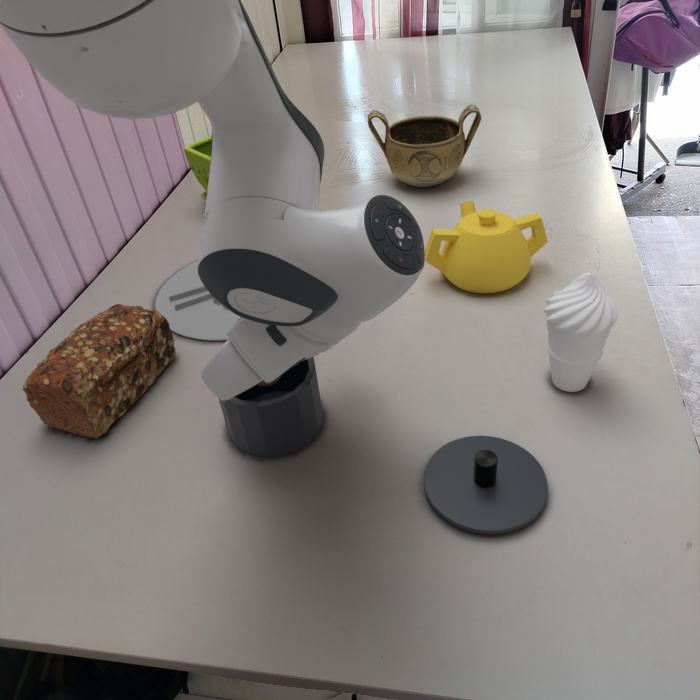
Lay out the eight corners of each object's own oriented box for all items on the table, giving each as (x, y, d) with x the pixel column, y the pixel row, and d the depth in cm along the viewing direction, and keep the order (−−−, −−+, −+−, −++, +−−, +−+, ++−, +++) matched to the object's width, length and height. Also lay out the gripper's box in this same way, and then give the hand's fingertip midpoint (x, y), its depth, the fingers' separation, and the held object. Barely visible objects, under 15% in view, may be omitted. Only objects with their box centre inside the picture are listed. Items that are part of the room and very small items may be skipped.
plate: (292, 234, 120) (291, 228, 120) (348, 307, 100) (347, 301, 99) (144, 274, 113) (142, 268, 113) (171, 362, 93) (169, 356, 92)
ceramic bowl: (371, 201, 129) (365, 127, 120) (373, 167, 142) (368, 99, 133) (482, 194, 127) (485, 118, 117) (473, 161, 140) (476, 91, 131)
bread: (102, 445, 80) (74, 386, 74) (38, 427, 84) (6, 370, 78) (183, 355, 94) (165, 299, 87) (125, 343, 97) (103, 289, 91)
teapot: (517, 233, 113) (522, 174, 107) (561, 286, 99) (570, 222, 92) (408, 251, 112) (406, 192, 105) (437, 308, 97) (436, 244, 91)
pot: (328, 447, 77) (320, 395, 71) (229, 465, 76) (214, 413, 71) (317, 383, 86) (309, 333, 81) (229, 398, 85) (215, 349, 80)
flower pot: (195, 204, 135) (180, 146, 127) (248, 182, 142) (237, 125, 134) (232, 223, 126) (218, 162, 118) (287, 199, 133) (277, 139, 125)
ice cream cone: (583, 413, 77) (604, 304, 67) (523, 385, 82) (534, 280, 72) (614, 376, 82) (638, 270, 72) (555, 353, 87) (569, 250, 77)
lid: (567, 524, 65) (572, 495, 62) (442, 548, 64) (442, 519, 61) (520, 434, 76) (523, 405, 73) (411, 453, 75) (410, 425, 72)
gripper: (352, 238, 69) (297, 289, 80) (217, 336, 57) (174, 380, 68) (388, 283, 70) (328, 328, 81) (262, 390, 58) (212, 425, 69)
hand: (257, 353), depth 74 cm, fingers closed on egg, 5 cm apart
